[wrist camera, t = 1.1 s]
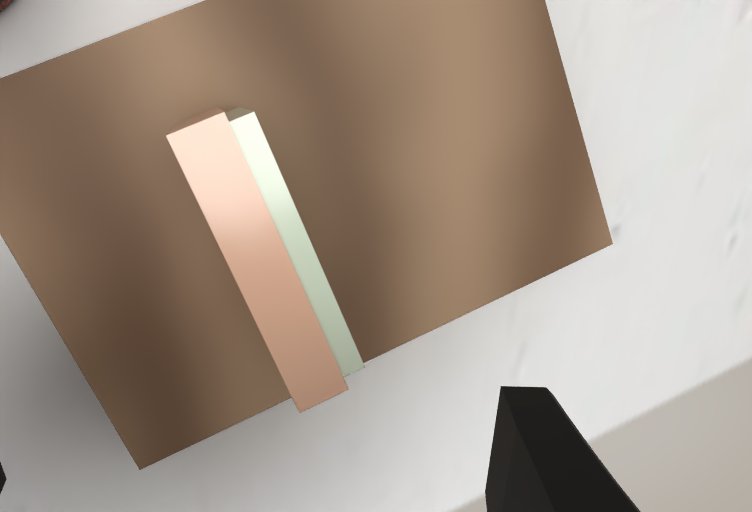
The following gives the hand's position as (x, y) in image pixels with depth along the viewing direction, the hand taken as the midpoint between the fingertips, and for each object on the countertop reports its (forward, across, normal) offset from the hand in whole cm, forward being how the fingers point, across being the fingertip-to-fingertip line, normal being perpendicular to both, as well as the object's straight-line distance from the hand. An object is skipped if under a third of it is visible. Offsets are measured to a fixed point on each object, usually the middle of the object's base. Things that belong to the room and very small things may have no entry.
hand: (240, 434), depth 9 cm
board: (+12, 0, +1) cm, 12 cm away
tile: (+10, +2, +2) cm, 10 cm away
